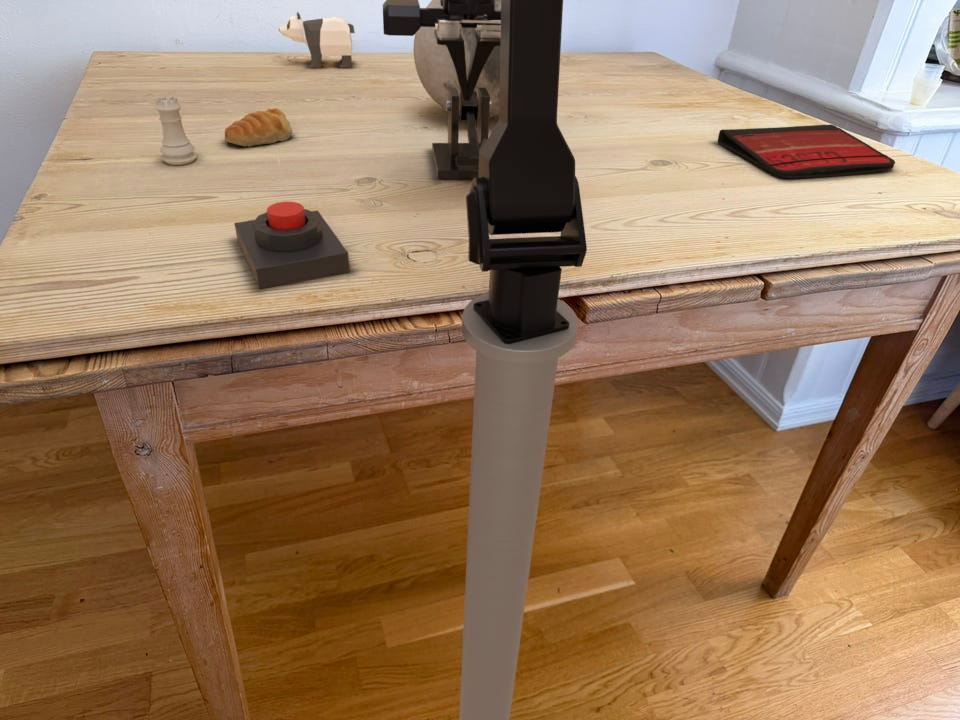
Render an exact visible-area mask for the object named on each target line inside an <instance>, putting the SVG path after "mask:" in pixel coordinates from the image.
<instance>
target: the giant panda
mask: <svg viewBox="0 0 960 720" xmlns="http://www.w3.org/2000/svg"><path fill="white" fill-rule="evenodd" d="M278 32H280V34H281V35H282V36H284V37H286V38H288V39H291V40H292V41H293V42H298V43H304V44H306V46H307V48H308V50H309V53H310V59H309V61H308V63H309V64H308V68H310V69H318V68H322V67H323V64H322V63H323V56H328V57H338V56H341V59H339V60H338V68H352V65H353V63H352V62H353V60H352V59H353V58H352V54H353V40H352V34H355V33H356V32H355V26H354V25H353V24H352V23H349V22H347V21H346V19H343V18H342V17H334V16H331V17H324V18H316V19H309V20H307V19H306V20H303V19H302V18H301V15H300V12H298V11H296V15H292V16H290V17H289V18H288V20H287V22H286V23H285V24H284V25H282V26H279V27H278Z"/></svg>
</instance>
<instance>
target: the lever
mask: <svg viewBox="0 0 960 720" xmlns="http://www.w3.org/2000/svg"><path fill="white" fill-rule="evenodd" d="M478 107H479V105H478V98H477V92H476V91H474V92H473V95H472V97H471V100H470V101H467V100H466V101H464V100H463V98H462V94H461V91H460V101H459V109H460V116H459V118H460V120H461V121H465V125H466V133H467V140H468V142H467V143H469V150H470V156H456V166H479V144H478V136H477V116H478Z"/></svg>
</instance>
